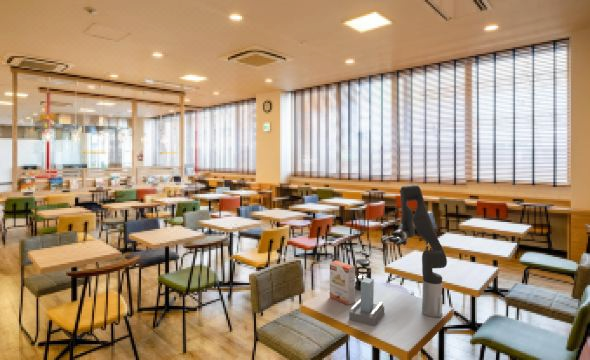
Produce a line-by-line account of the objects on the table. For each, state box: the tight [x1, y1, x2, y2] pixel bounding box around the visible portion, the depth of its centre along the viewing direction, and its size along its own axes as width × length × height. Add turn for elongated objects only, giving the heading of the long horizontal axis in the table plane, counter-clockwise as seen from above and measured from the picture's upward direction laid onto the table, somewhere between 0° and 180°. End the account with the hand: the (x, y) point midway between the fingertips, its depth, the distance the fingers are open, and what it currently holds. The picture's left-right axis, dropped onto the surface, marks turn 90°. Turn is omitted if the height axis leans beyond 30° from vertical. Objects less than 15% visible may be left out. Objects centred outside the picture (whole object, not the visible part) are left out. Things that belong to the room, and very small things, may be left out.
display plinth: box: [348, 298, 385, 327], centre depth 177 cm, size 13×15×6 cm
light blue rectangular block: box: [360, 278, 375, 312], centre depth 176 cm, size 4×6×15 cm
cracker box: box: [329, 260, 356, 306], centre depth 196 cm, size 14×6×21 cm, turn 42°
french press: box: [355, 250, 372, 292], centre depth 212 cm, size 12×9×23 cm
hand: (390, 243), depth 196 cm, fingers open, 8 cm apart
